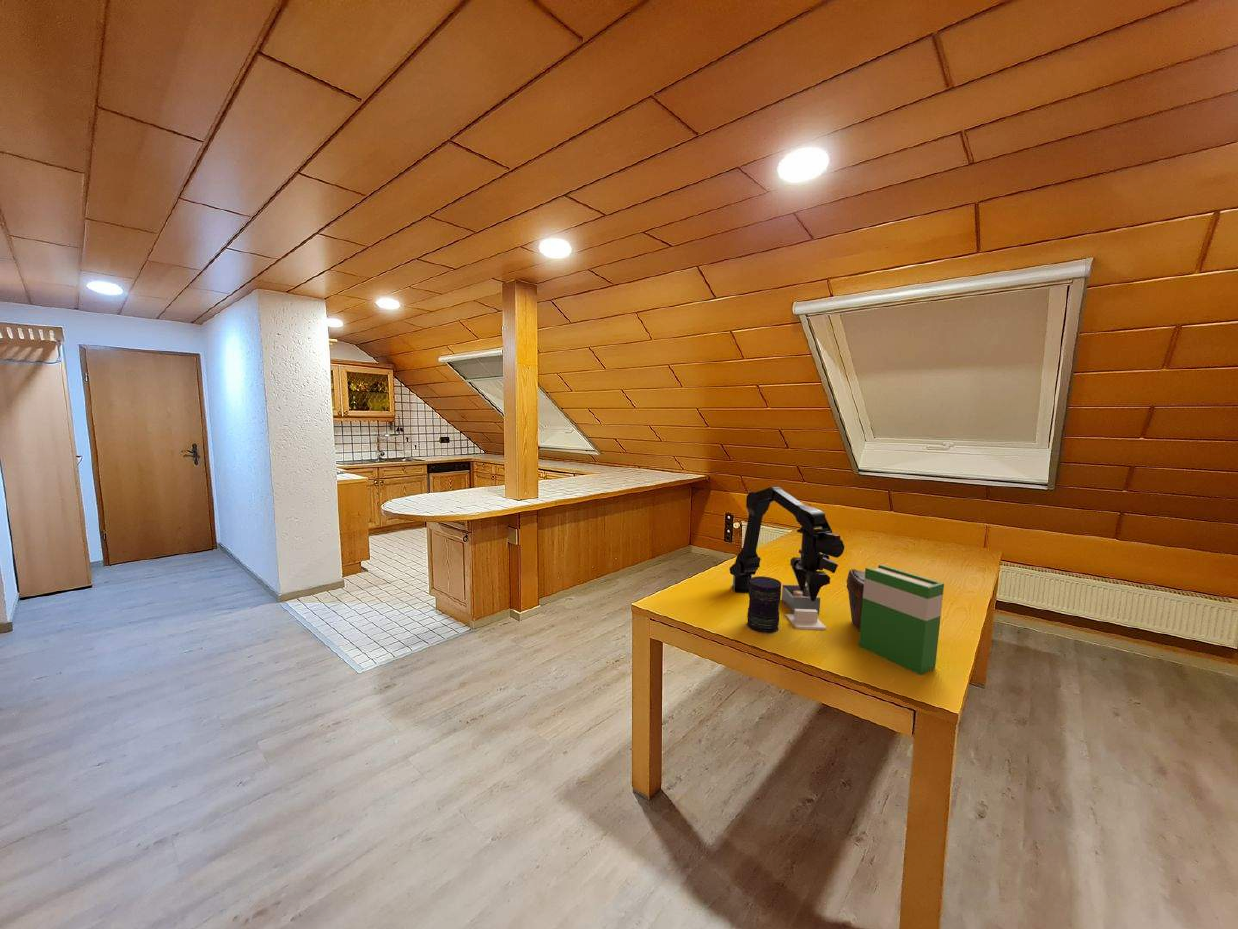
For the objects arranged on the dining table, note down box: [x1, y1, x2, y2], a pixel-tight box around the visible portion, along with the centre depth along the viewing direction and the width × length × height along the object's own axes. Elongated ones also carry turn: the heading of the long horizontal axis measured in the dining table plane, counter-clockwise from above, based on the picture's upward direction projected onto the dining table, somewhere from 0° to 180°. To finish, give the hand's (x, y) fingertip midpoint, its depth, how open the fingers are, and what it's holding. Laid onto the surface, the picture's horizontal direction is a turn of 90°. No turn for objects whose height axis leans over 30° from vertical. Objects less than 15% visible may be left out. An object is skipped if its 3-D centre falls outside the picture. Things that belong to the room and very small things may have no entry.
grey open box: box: [781, 584, 821, 615], centre depth 172 cm, size 9×12×6 cm
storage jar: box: [746, 575, 782, 634], centre depth 154 cm, size 10×10×15 cm
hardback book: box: [858, 564, 945, 676], centre depth 137 cm, size 18×7×24 cm, turn 30°
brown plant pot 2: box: [846, 568, 865, 630], centre depth 156 cm, size 18×20×18 cm
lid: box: [785, 609, 827, 631], centre depth 159 cm, size 10×10×5 cm
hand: (807, 595), depth 158 cm, fingers open, 9 cm apart
